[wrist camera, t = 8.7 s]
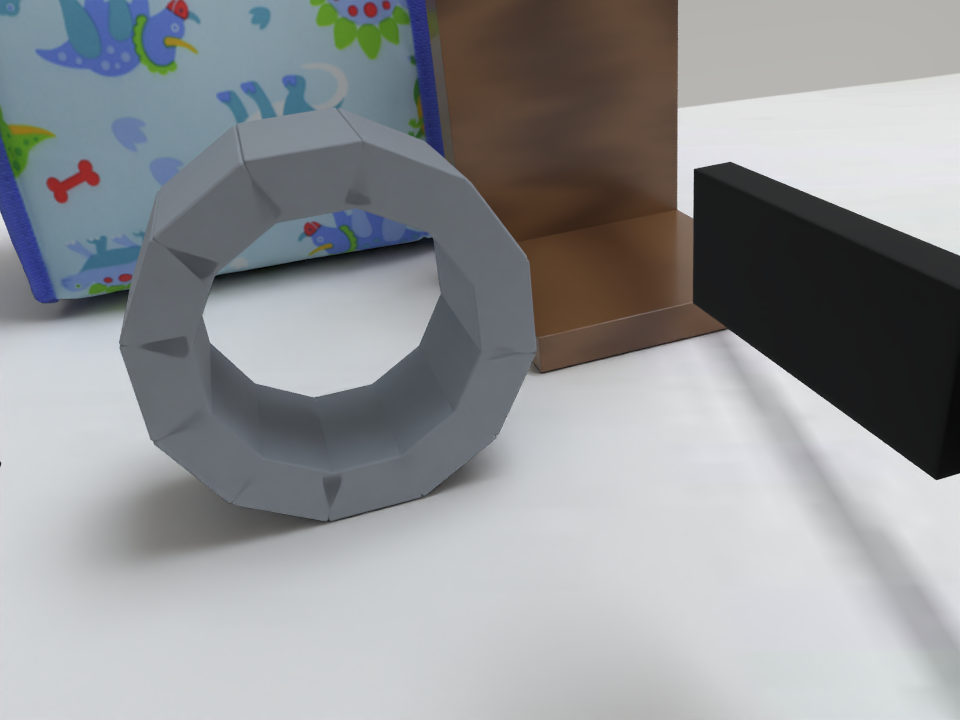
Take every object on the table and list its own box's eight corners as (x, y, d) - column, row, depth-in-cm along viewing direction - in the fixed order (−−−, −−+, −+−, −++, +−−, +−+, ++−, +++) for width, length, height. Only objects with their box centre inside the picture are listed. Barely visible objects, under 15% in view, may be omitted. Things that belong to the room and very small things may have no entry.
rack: (554, 390, 31) (489, -500, 20) (458, 268, 43) (382, -339, 31) (818, 325, 33) (893, -507, 22) (659, 226, 45) (655, -354, 34)
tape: (190, 559, 25) (65, 191, 20) (191, 470, 29) (88, 147, 24) (546, 465, 27) (517, 112, 22) (500, 395, 31) (466, 85, 26)
